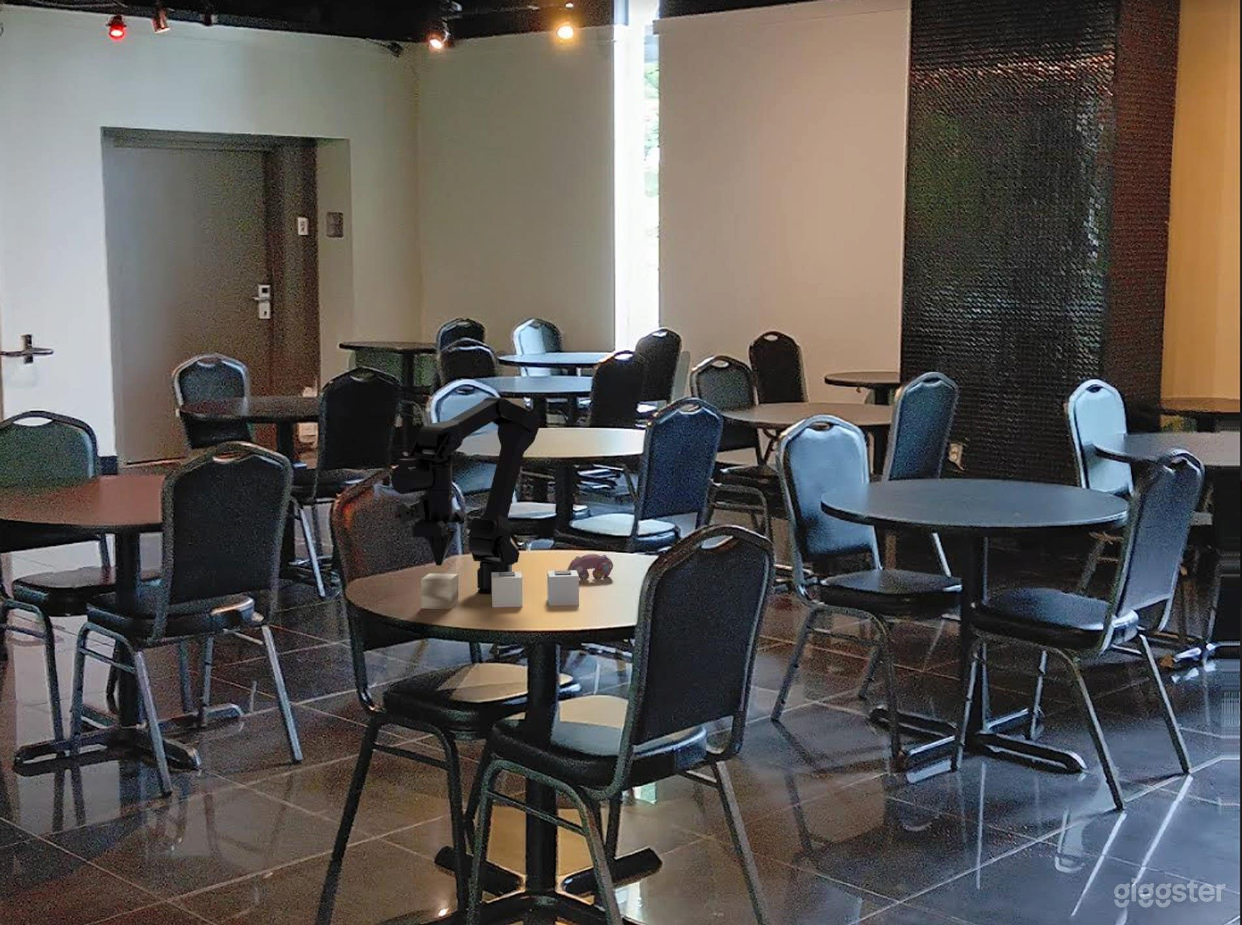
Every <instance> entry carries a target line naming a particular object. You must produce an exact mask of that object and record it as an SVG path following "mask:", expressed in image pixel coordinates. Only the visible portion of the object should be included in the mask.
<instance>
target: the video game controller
mask: <svg viewBox="0 0 1242 925" xmlns="http://www.w3.org/2000/svg"><path fill="white" fill-rule="evenodd" d="M613 568H614V563H613V561H612V560H611V559H610V557H608V556H607V555H606V554H603V555H599V554H596V553H588V554H585V555H583V556H579V555H578V556H575V558H574V559H572V560H571V562H570V563H569V565H568V567H567V569H566V570H577V573H578V575H579V581H586V580H588V579H589V577H590V574H589V570H592V569H593V570H592V573H591V574H592V577H593V579H594V580H601V579H602V578H603V577H609V576H610V574H611V572H612V570H613Z"/></svg>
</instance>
